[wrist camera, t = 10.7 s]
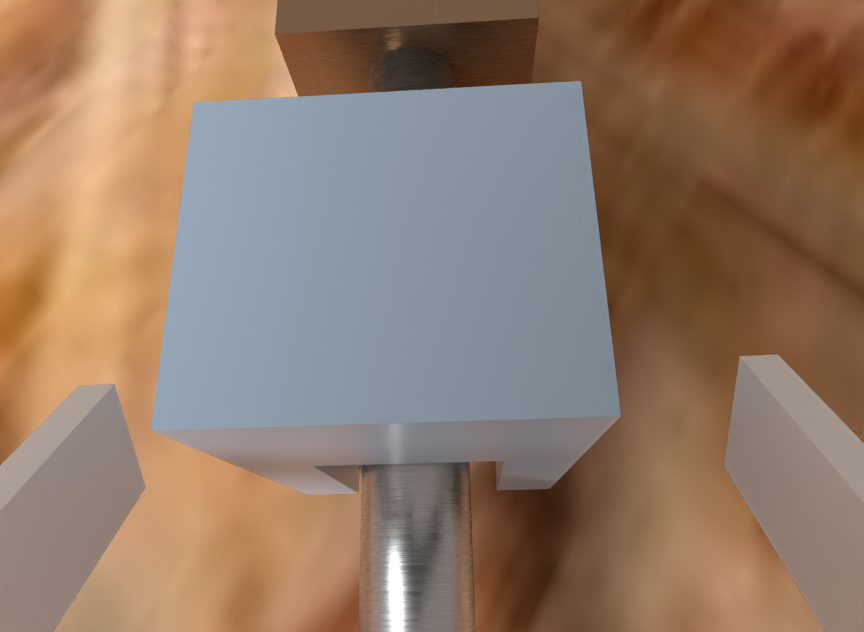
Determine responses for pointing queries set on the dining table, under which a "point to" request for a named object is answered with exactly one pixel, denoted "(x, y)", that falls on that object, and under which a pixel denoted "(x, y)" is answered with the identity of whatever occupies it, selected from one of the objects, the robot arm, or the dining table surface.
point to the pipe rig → (402, 71)
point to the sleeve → (389, 286)
